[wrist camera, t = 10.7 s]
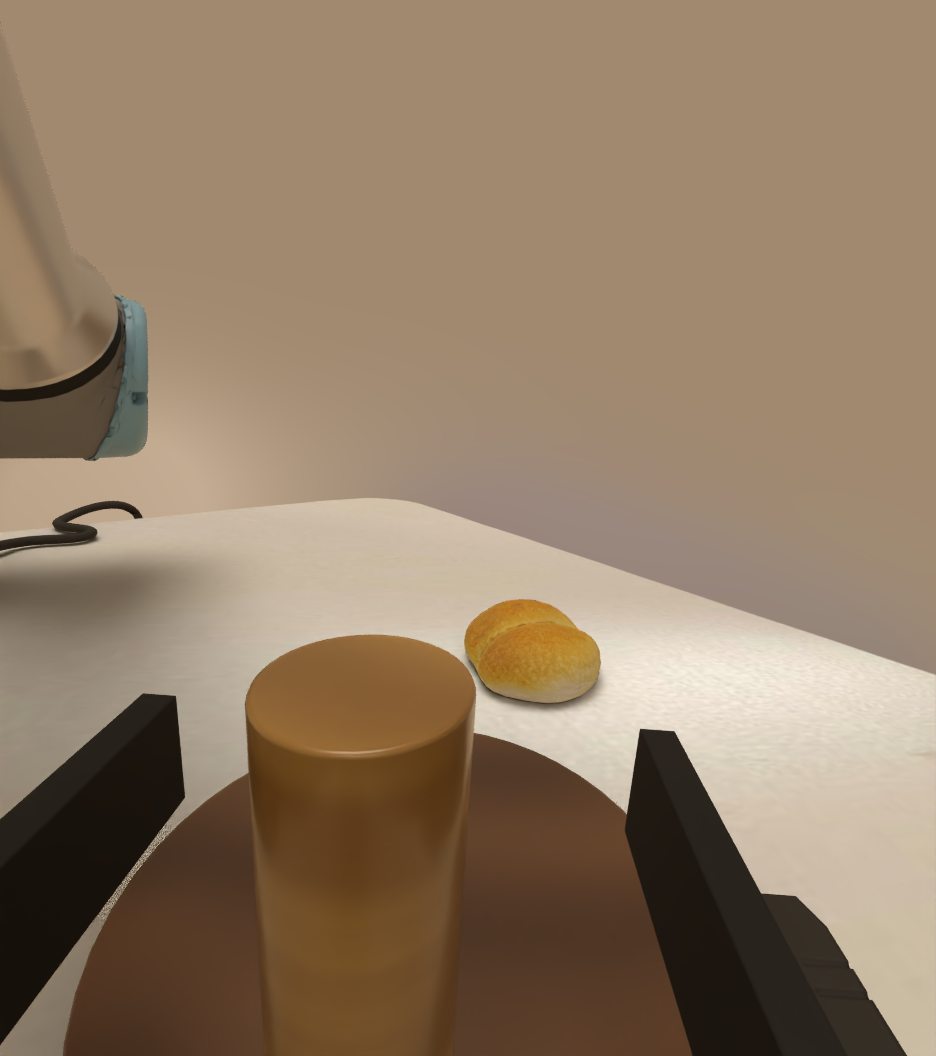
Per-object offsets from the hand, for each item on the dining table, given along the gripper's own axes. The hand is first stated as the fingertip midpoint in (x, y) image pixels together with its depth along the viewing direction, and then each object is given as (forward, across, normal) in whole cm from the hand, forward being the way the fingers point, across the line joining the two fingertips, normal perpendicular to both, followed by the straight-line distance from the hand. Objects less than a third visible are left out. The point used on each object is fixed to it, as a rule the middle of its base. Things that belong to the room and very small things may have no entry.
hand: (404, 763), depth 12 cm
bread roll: (+21, +5, -9) cm, 24 cm away
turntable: (+2, 0, -8) cm, 8 cm away
